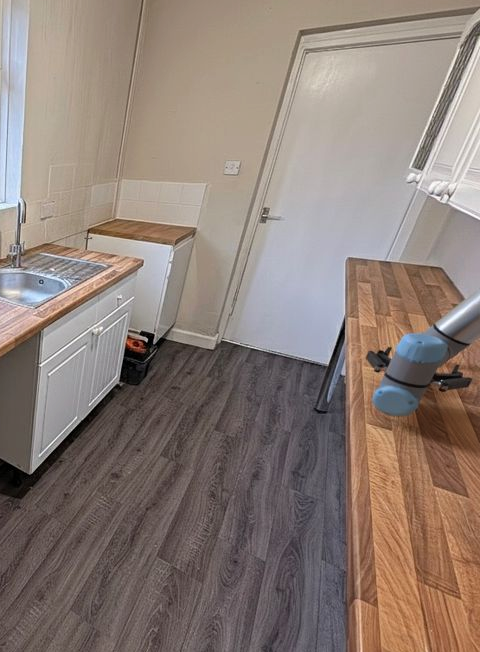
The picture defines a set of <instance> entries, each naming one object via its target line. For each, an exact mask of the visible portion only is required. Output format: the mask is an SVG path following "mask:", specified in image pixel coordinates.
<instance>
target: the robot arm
mask: <svg viewBox="0 0 480 652" xmlns="http://www.w3.org/2000/svg"><path fill="white" fill-rule="evenodd" d="M422 332H423V333H422ZM422 332H421V333H422V334H421V333H416V332H414V333H406V334H404V335H403V336H402V337H401V339H400V341H399V342H398V344H396V346H395V351H394V352H393V355H392V357H391V358H390V357H389V356H390V353H391V351H392V348H393V347H391V346H388V347H386V349H385V350H381V349H378V351H377V352H375V351H374V350H368V352H367V354H366V356H365V360H366V361H367V362H368V363H369V364H370V365H371V367H372V368H373V372H374V373H378V374H379V373H383V372H384V374H383V376H382V378H381V380H380V383H379V385H378V386H377V388H376V389H375V390H374V392H373V395H372V397H371V398H372V404H373V407H375V408H376V409H377V411H379V412H380V413H382V414H384V415H386V416H389V417H394V418H403V417H408V416H410V415H411V414H413V413H414V412H416V411H417V409H418V407H419V406H420V403H421V400H422V399H423V396H424V395H425V393H426V392H427V389H428V387H436V389H438V391H439V392H440V393H446V392H447V391H450V390H451V391H452V390H459V389H467V388H469V387H470V385H471V383H472V382H473V378H472V377H469V376H465V377H464V376H463V375H464V373H463V372H461V371H459V369H460V364H455V365H454V367H453V369H452V371H451V372H447V373H446V372H437V370H438V369H439V368H440V367H442V366H444V365H445V364H446V363H447V362H448V361H450V360H451V359H453V358H455V357H456V356H458V355H459V354H460V353H461V352H463V350H465V349H466V348H468V347H470V346H471V345H472V344H473V343H475V342H476V341H478V340H479V339H480V287H479V288H477V290H475V291H474V292H473V293H472V294H470V295H469V296H468V297H466V298H465V299H464V300H463V301H461V302H460V303H459V304H457V305H456V306H455V307H454V308H453V309H451V310H450V311H449V312H448V313H446V314H445V315H444V316H442V317H441V318H440V319H439V320H438V321H436V322H435V323H434V324H432V325H431V326H430V327H428V328H427V329H425V330H424V331H422ZM435 372H436V373H435Z"/></svg>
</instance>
